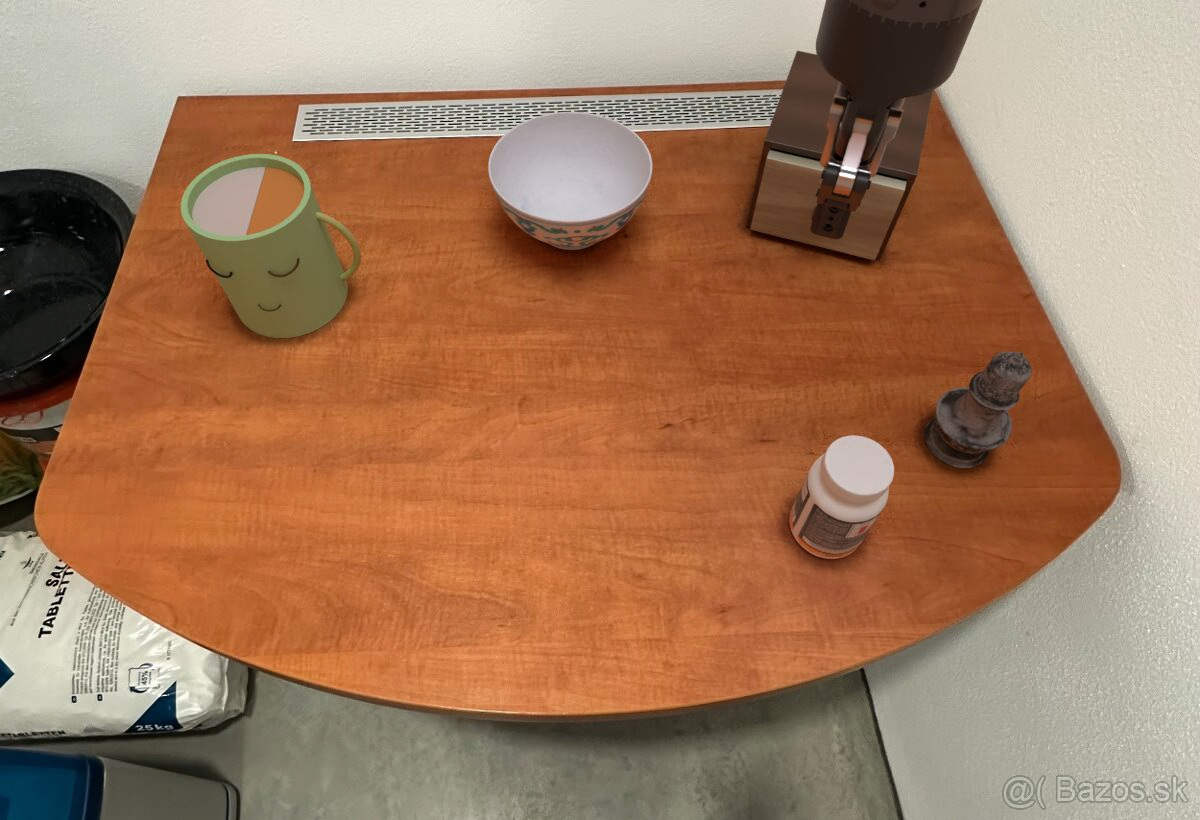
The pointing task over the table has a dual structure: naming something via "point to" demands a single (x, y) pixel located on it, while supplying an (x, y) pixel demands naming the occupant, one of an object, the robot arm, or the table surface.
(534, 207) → the chinaware
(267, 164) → the mug
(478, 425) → the table surface
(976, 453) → the chess piece
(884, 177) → the drawer
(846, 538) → the pill bottle
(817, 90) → the cabinet
